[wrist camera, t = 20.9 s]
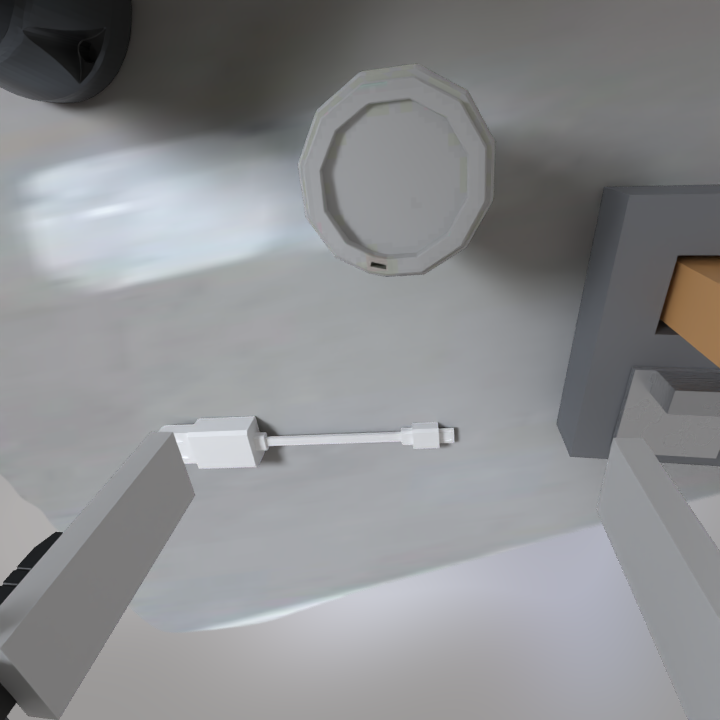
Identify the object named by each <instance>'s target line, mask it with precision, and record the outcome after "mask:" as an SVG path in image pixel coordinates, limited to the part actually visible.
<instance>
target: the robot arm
mask: <svg viewBox="0 0 720 720" xmlns="http://www.w3.org/2000/svg"><path fill="white" fill-rule="evenodd" d="M130 30H131V0H0V87H1V88H3V89H5V90H7V91H9V92H11V93H14V94H16V95H19V96H22V97H25V98H29V99H32V100H37V101H46V102H58V103H73V102H79V101H83V100H86V99H88V98H91V97H93V96H94V95H96V94H98V93H99V92H100V91H102V90H103V89H104V88H105V87H106V86H107V85H108V84H109V83H110V82H111V81H112V80H113V78H114V77H115V75H116V74H117V72H118V71H119V69H120V67H121V65H122V62H123V60H124V57H125V54H126V51H127V47H128V43H129V38H130ZM194 496H195V493H194V490H193V487H192V484H191V481H190V479H189V476H188V473H187V470H186V467H185V465H184V462H183V459H182V456H181V453H180V450H179V448H178V445H177V442H176V439H175V436H174V433H173V432H150V433H149V435H148V436H147V437H146V438H145V439H144V440H143V441H142V443H141V444H140V445H139V446H138V447H137V448H136V449H135V451H134V452H133V453H132V454H131V455H130V456H129V458H128V459H127V460H126V461H125V462H124V463H123V464H122V466H121V467H120V468H119V469H118V470H117V471H116V473H115V474H114V475H113V476H112V477H111V478H110V479H109V481H108V482H107V483H106V484H105V485H104V486H103V488H102V489H101V490H100V491H99V492H98V493H97V494H96V496H95V497H94V498H93V499H92V500H91V501H90V502H89V504H88V505H87V506H86V507H85V508H84V509H83V511H82V512H81V513H80V514H79V515H78V516H77V517H76V519H75V520H74V521H73V522H72V523H71V524H70V526H69V527H68V528H67V529H66V530H65V531H64V532H55V533H54V534H52V535H51V536H50V537H48V538H47V539H45V540H44V541H43V542H41V543H40V544H39V545H37V546H36V547H35V548H34V549H33V550H32V551H31V552H30V553H29V554H28V555H27V556H26V558H25V559H24V560H23V561H22V562H21V563H20V564H19V565H18V567H17V570H14V571H13V572H12V573H11V574H10V575H9V577H7V578H6V580H5V581H4V582H3V585H2V586H0V720H9V719H8V718H7V715H8V714H9V712H10V711H11V709H12V708H13V706H14V705H15V704H16V703H17V704H18V705H19V706H20V707H21V708H22V710H23V711H24V712H25V713H26V714H27V715H28V716H31V717H39V718H48V719H54V720H59V719H60V717H61V716H62V714H63V712H64V710H65V709H66V707H67V706H68V704H69V702H70V701H71V699H72V697H73V696H74V694H75V692H76V691H77V689H78V687H79V686H80V684H81V683H82V681H83V679H84V678H85V676H86V674H87V673H88V671H89V669H90V668H91V666H92V664H93V663H94V661H95V660H96V658H97V656H98V655H99V653H100V651H101V650H102V648H103V646H104V644H105V643H106V641H107V640H108V638H109V636H110V635H111V633H112V631H113V630H114V628H115V626H116V625H117V623H118V622H119V620H120V618H121V617H122V615H123V613H124V612H125V610H126V608H127V607H128V605H129V603H130V602H131V600H132V598H133V597H134V595H135V594H136V592H137V590H138V589H139V587H140V585H141V584H142V582H143V580H144V579H145V577H146V575H147V574H148V572H149V570H150V569H151V567H152V565H153V564H154V562H155V561H156V559H157V557H158V556H159V554H160V552H161V551H162V549H163V547H164V546H165V544H166V542H167V541H168V539H169V537H170V536H171V534H172V532H173V531H174V529H175V528H176V526H177V524H178V523H179V521H180V519H181V518H182V516H183V514H184V513H185V511H186V509H187V508H188V506H189V504H190V503H191V501H192V499H193V498H194ZM596 510H597V512H598V515H599V517H600V519H601V522H602V524H603V526H604V529H605V531H606V533H607V535H608V538H609V540H610V542H611V545H612V547H613V549H614V551H615V554H616V556H617V558H618V561H619V563H620V565H621V568H622V570H623V572H624V574H625V577H626V579H627V581H628V584H629V586H630V588H631V591H632V593H633V595H634V597H635V600H636V602H637V604H638V607H639V609H640V611H641V614H642V616H643V618H644V620H645V622H646V625H647V627H648V630H649V632H650V634H651V636H652V639H653V641H654V643H655V646H656V648H657V650H658V652H659V655H660V657H661V659H662V662H663V664H664V666H665V668H666V671H667V673H668V676H669V678H670V680H671V682H672V685H673V687H674V689H675V692H676V694H677V696H678V699H679V700H680V703H681V705H682V707H683V710H684V712H685V714H686V717H687V719H688V720H720V550H719V549H718V548H717V546H716V545H715V543H714V542H713V540H712V539H711V537H710V536H709V534H708V533H707V531H706V530H705V528H704V527H703V525H702V524H701V523H700V521H699V520H698V518H697V517H696V515H695V514H694V512H693V511H692V509H691V508H690V506H689V505H688V503H687V502H686V500H685V499H684V497H683V496H682V494H681V493H680V491H679V490H678V489H677V487H676V486H675V484H674V483H673V481H672V480H671V478H670V477H669V475H668V474H667V472H666V471H665V469H664V468H663V466H662V465H661V463H660V462H659V461H658V459H657V458H656V456H655V455H654V453H653V452H652V450H651V449H650V447H649V446H648V444H647V443H646V441H645V440H644V438H613V441H612V445H611V450H610V454H609V458H608V462H607V467H606V471H605V475H604V479H603V484H602V488H601V492H600V496H599V500H598V505H597V509H596Z"/></svg>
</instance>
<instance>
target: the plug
mask: <svg viewBox="0 0 720 720" xmlns="http://www.w3.org/2000/svg"><path fill="white" fill-rule="evenodd" d="M659 319H661V320H662V321H663V322H664V323H666V324H667V325H668V326H669V327H670V328H672V329H673V330H674V331H675V332H676V333H678V334H679V335H680V336H681V337H682V338H684V339H685V340H686V341H687V342H689V343H690V344H691V345H692V346H693V347H695V348H696V349H697V350H698V351H699V352H701V353H702V354H703V355H704V356H706V357H707V358H708V359H709V360H710V361H712V362H713V363H714V364H715V365H716V366H718V367H719V368H720V256H678V257H677V260H676V263H675V267H674V270H673V274H672V277H671V281H670V284H669V287H668V291H667V294H666V298H665V301H664V305H663V308H662V312H661V315H660V318H659Z"/></svg>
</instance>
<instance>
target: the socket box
mask: <svg viewBox="0 0 720 720" xmlns="http://www.w3.org/2000/svg"><path fill="white" fill-rule="evenodd" d="M678 256H720V185H682V186H633V187H604V191H603V196H602V201H601V206H600V211H599V216H598V220H597V225H596V230H595V235H594V240H593V245H592V250H591V255H590V260H589V265H588V270H587V275H586V280H585V285H584V290H583V295H582V300H581V305H580V310H579V315H578V320H577V325H576V330H575V335H574V340H573V345H572V350H571V355H570V360H569V364H568V369H567V374H566V379H565V384H564V389H563V394H562V399H561V404H560V409H559V414H558V419H557V426H558V429H559V431H560V434H561V436H562V438H563V441H564V443H565V445H566V448H567V450H568V453H569V455H570V457H584V458H600V459H608V458H609V454H610V450H611V449H610V445H611V442H612V438H613V434H614V431H615V427H616V424H617V420H618V416H619V413H620V409H621V405H622V402H623V398H624V395H625V391H626V387H627V384H628V380H629V376H630V373H631V369H632V366H643V367H672V368H700V369H720V368H719V367H718V366H716V365H715V364H714V363H713V362H712V361H710V360H709V359H708V358H707V357H706V356H704V355H703V354H702V353H701V352H699V351H698V350H697V349H696V348H695V347H693V346H692V345H691V344H690V343H689V342H687V341H686V340H685V339H684V338H682V337H681V336H680V335H679V334H678V333H676V332H675V331H674V330H673V329H672V328H670V327H669V326H668V325H667V324H666V323H664V322H663V321H662V320H661V319H659V318H660V315H661V312H662V308H663V305H664V301H665V298H666V294H667V291H668V287H669V284H670V281H671V277H672V274H673V270H674V267H675V263H676V260H677V257H678ZM655 456H656V458H657V459H658V461H659V462H663V463H678V464H694V465H710V466H720V450H719V452H718V455H717V457H716V459H715V458H699V457H683V456H666V455H655Z"/></svg>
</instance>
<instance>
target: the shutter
mask: <svg viewBox="0 0 720 720" xmlns="http://www.w3.org/2000/svg"><path fill="white" fill-rule="evenodd" d="M613 438H644V440H645V441H646V443H647V444H648V446H649V447H650V449H651V450H652V452H653V453H654V455H666V456H683V457H699V458H715V459H716V457H717V455H718V452H719V450H720V369H700V368H672V367H643V366H632V369H631V373H630V376H629V380H628V384H627V387H626V391H625V395H624V398H623V402H622V405H621V409H620V413H619V416H618V420H617V424H616V427H615V431H614V434H613ZM613 438H612V441H613ZM611 445H612V442H611ZM611 445H610V449H611Z"/></svg>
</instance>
